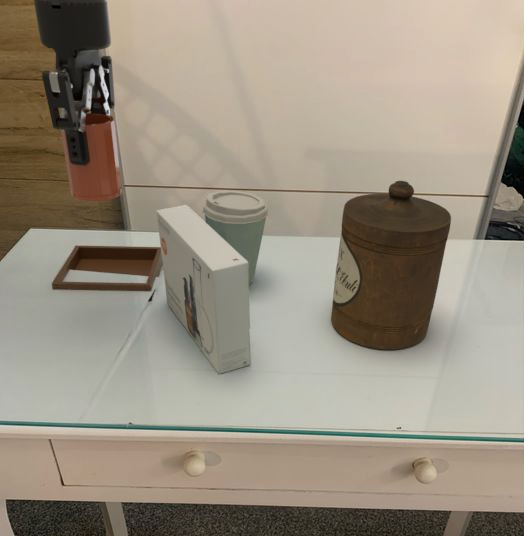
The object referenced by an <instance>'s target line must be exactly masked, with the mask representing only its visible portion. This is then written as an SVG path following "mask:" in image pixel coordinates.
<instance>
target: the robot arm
mask: <svg viewBox="0 0 524 536" xmlns="http://www.w3.org/2000/svg"><path fill="white" fill-rule="evenodd" d="M33 3H34V10H35V14H36V16H35V17H36V21H37V28H38V34H39V41H40V43H41V45H43V46H44V47H45V48H48V49H52V50H53V51H54V53H55V69H54V70H43V71H42V74H41V77H42V78H41V79H42V82H43V87H44V91H45V96H46V101H47V106H48V110H49V114H50V119H51V120H50V121H51V123H52V124H51V125H52V128H53V129H54V130H60V131H61V130H62V131H65V133H66V139H67V146H68V152H69V159H70V162H71V163H72V164H74V165H87V164H88V163H89V162H90V157H89V150H88V142H87V135H86V132H85V125H86V114H87V113H98V114H105V115H110V116H111V110H114V109H115V106H116V103H115V88H114V74H113V59H112V57H111V56H110V55H101V54H100V50H105V49H107V48H109V47H110V46H111V44H112V38H111V37H112V36H111V27H110V25H111V24H110V18H109V17H110V16H109V7H108V0H33ZM59 110H60V111H59ZM76 114H78V116H76Z"/></svg>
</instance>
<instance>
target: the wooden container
mask: <svg viewBox="0 0 524 536" xmlns="http://www.w3.org/2000/svg"><path fill="white" fill-rule="evenodd" d="M414 194H415V189H414V187H413V186H412V185H411V184H410V183H409V181H406V180H397V181H394V182H393V183H391V184H390V185H389V187H388V193H369V194H368V193H367V194H362V195H357V196H355V197H352V198H350V199H349V200H347V201H346V202H345V203H344V206H343V211H342V218H341V219H342V220H341V231H340V237H339V238H340V239H339V246H338V253H337V262H336V268H335V277H334V285H333V295H332V296H333V297H332V306H331V312H330V313H331V314H330V315H331V316H330V321H331V324H332V327H333V328H334V330H335V331H336V332H337V333H338V334H339V335H340V336H342V337H343V338H344V339H346V340H348V341H350V342H352V343H355V344H357V345H360V346H363V347H367V348H372V349H377V350H378V349H379V350H399V349H405V348H410V347H412V346H415V345H417V344H419V343H420V342H422V340H424V338H425V337H426V336H427V333H428V330H429V326H430V322H431V319H432V317H431V316H432V312H433V308H434V304H435V301H436V296H437V291H438V287H439V281H440V277H441V270H442V266H443V260H444V255H445V251H446V246H447V241H448V238H449V234H450V229H451V223H452V215H451V213H450V212H449V211H448V209H446V208H445V207H443V206H441V205H440V204H438V203H436V202H433V201H431V200H428V199H424V198H421V197H420V198H419V197H417V196H413V195H414Z"/></svg>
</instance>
